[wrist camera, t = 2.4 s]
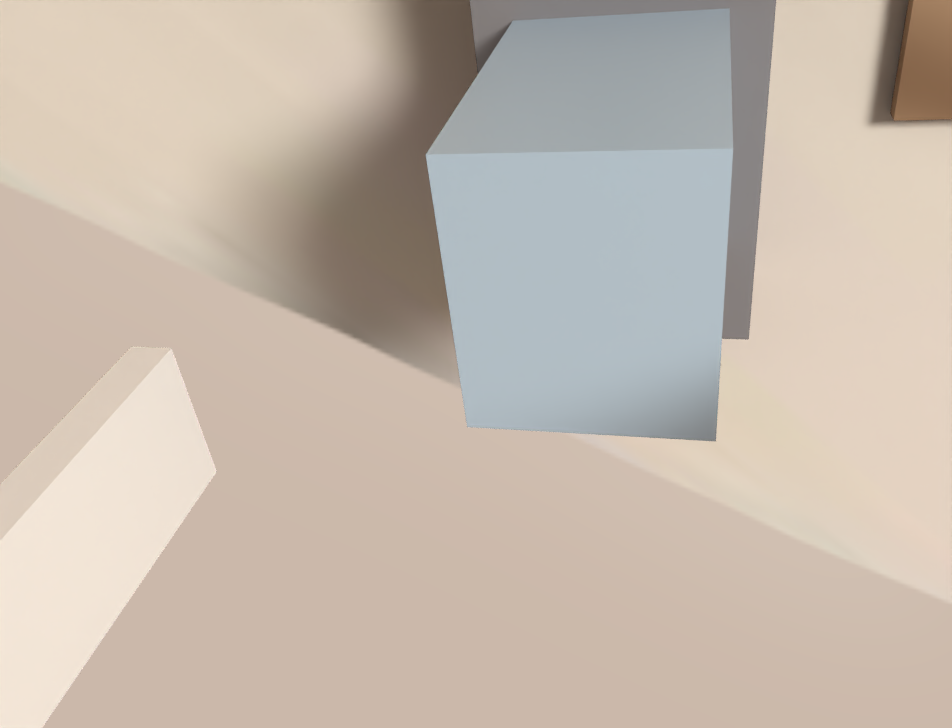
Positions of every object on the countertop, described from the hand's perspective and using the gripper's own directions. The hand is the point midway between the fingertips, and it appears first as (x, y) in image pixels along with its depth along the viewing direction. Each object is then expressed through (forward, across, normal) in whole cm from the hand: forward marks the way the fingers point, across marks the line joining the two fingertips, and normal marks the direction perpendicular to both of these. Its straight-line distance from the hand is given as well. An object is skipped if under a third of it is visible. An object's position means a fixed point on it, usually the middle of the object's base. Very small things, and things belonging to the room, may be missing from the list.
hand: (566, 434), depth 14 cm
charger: (+14, 0, 0) cm, 14 cm away
